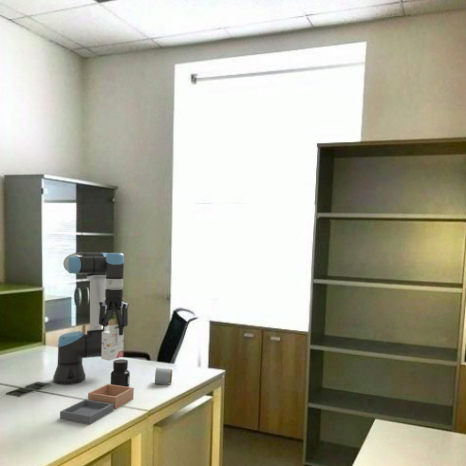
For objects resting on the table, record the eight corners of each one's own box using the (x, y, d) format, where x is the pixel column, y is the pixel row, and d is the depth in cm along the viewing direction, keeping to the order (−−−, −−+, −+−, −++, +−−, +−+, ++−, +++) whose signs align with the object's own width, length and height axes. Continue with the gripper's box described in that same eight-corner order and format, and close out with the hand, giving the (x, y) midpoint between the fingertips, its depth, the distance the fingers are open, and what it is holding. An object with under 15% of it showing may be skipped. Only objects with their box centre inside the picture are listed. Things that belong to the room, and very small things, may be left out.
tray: (59, 419, 174) (60, 411, 174) (84, 406, 188) (85, 399, 188) (89, 424, 169) (90, 416, 169) (113, 411, 183) (113, 403, 184)
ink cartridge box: (115, 355, 199) (116, 321, 200) (123, 356, 197) (124, 323, 197) (100, 359, 192) (101, 324, 192) (108, 360, 190) (109, 325, 190)
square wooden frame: (87, 405, 190) (88, 393, 190) (107, 395, 202) (107, 383, 203) (115, 409, 185) (115, 397, 185) (133, 399, 198) (133, 387, 198)
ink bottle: (133, 386, 216) (134, 361, 216) (117, 390, 209) (118, 364, 209) (122, 382, 222) (122, 357, 223) (106, 385, 216) (107, 360, 216)
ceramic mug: (171, 385, 218) (171, 369, 218) (154, 386, 217) (154, 369, 217) (172, 379, 228) (172, 364, 229) (156, 379, 227) (156, 364, 228)
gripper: (90, 288, 195) (89, 341, 194) (127, 290, 189) (126, 345, 188) (101, 286, 202) (99, 338, 201) (137, 288, 196) (136, 342, 195)
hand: (112, 341), depth 195 cm, fingers closed on ink cartridge box, 6 cm apart
